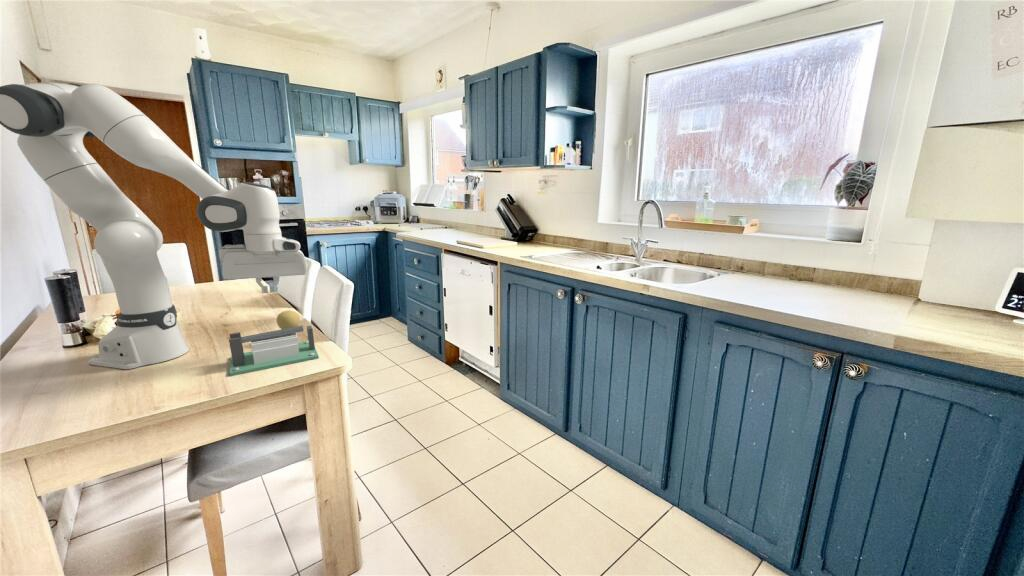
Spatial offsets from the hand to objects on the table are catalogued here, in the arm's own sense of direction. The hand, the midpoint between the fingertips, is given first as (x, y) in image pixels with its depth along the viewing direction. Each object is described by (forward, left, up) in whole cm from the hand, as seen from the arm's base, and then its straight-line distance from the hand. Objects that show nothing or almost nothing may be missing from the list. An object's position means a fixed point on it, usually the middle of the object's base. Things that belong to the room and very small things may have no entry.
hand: (268, 292), depth 114 cm
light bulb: (-2, +10, -19) cm, 21 cm away
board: (+1, -3, -19) cm, 19 cm away
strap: (+1, -3, -12) cm, 12 cm away
